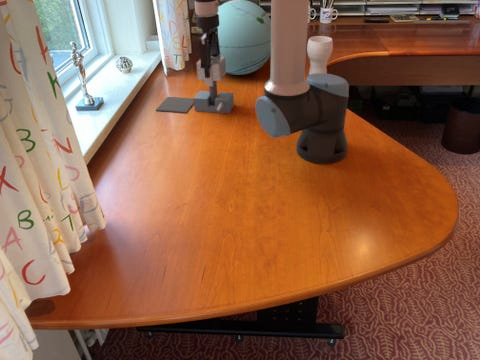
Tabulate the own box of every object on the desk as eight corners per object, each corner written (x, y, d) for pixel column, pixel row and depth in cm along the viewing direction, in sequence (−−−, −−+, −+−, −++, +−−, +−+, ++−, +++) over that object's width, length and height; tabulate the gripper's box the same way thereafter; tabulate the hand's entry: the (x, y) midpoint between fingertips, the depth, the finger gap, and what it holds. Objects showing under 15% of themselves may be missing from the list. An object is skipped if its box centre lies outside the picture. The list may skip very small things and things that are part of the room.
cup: (330, 79, 169) (333, 43, 160) (304, 78, 171) (306, 42, 162) (330, 70, 177) (333, 35, 169) (306, 69, 179) (308, 35, 171)
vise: (226, 118, 142) (224, 86, 135) (190, 116, 145) (187, 84, 138) (233, 105, 151) (232, 74, 144) (200, 103, 154) (197, 72, 147)
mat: (186, 113, 147) (186, 111, 147) (155, 111, 149) (155, 109, 149) (196, 100, 156) (196, 98, 156) (167, 98, 159) (167, 96, 159)
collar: (220, 81, 139) (218, 64, 135) (198, 80, 140) (196, 63, 137) (226, 73, 145) (225, 56, 142) (204, 72, 147) (203, 55, 143)
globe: (263, 88, 164) (263, 10, 146) (196, 81, 172) (188, 7, 155) (281, 64, 187) (283, -6, 169) (221, 59, 195) (216, -8, 178)
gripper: (208, 22, 122) (214, 93, 135) (226, 7, 138) (230, 71, 151) (185, 21, 123) (193, 92, 136) (205, 6, 140) (211, 70, 153)
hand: (212, 81), depth 144 cm, fingers closed on collar, 8 cm apart
